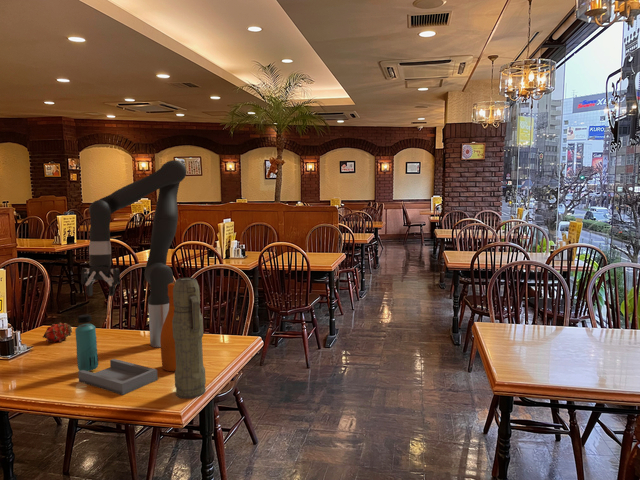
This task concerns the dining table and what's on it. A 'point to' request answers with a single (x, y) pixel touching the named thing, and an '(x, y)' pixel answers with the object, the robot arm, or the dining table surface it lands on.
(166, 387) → the dining table surface
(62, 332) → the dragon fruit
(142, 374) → the U-rest
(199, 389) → the thermos
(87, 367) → the beverage bottle
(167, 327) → the wine bottle
